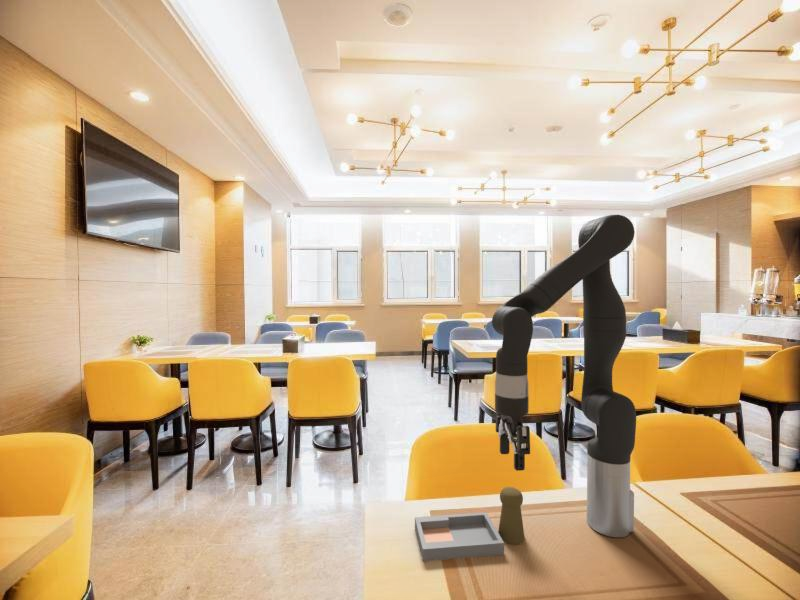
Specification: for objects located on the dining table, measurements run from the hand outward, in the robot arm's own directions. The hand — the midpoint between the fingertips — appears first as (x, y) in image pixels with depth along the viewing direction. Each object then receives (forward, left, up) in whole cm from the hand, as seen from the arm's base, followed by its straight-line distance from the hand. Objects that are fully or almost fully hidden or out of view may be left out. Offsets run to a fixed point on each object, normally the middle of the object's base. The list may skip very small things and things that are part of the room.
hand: (511, 461), depth 88 cm
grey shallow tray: (+13, 0, -18) cm, 22 cm away
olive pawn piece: (0, 0, -18) cm, 18 cm away
